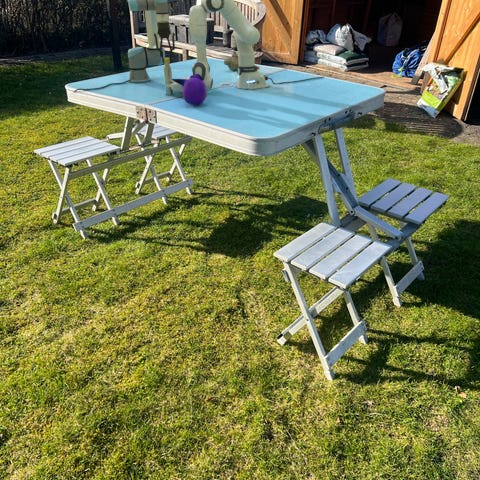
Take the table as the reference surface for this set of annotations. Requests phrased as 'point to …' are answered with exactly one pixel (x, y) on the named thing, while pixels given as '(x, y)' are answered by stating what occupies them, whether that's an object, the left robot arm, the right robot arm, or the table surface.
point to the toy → (193, 89)
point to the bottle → (168, 78)
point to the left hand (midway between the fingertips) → (166, 62)
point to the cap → (166, 59)
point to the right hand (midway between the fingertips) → (167, 84)
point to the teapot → (232, 62)
